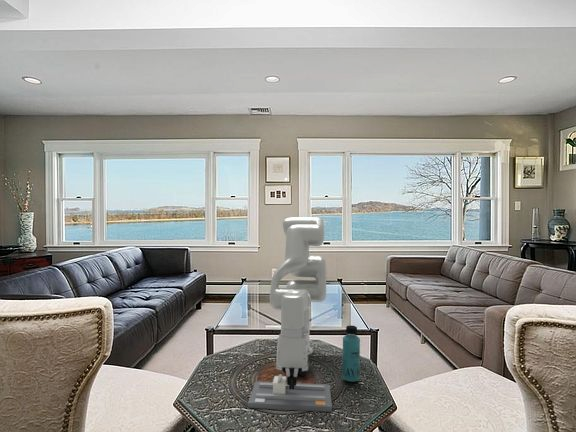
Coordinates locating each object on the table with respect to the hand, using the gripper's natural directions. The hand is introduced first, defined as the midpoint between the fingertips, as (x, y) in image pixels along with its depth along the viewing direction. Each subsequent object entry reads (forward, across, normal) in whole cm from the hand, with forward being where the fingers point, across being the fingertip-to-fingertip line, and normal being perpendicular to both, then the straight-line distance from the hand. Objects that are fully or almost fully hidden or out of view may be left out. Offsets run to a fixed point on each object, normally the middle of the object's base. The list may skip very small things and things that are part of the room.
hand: (291, 387), depth 114 cm
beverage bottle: (+4, -21, -13) cm, 25 cm away
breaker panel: (+4, 0, 0) cm, 4 cm away
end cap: (+4, -2, -19) cm, 19 cm away
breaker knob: (+2, +4, 0) cm, 4 cm away
